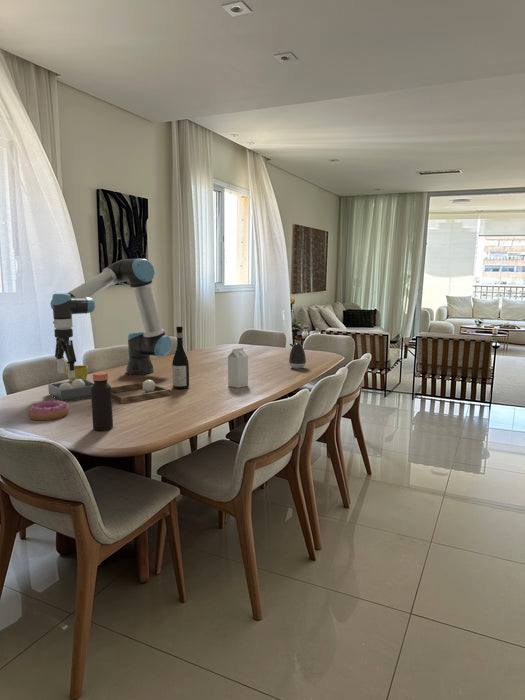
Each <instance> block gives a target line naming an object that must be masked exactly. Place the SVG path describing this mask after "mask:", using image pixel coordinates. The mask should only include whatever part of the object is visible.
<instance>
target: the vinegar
mask: <svg viewBox="0 0 525 700" xmlns="http://www.w3.org/2000/svg"><path fill="white" fill-rule="evenodd" d="M108 379H109V375H108V372H105V371H98V372H94V373H92V380H93V382H94V385H93V386H92V387H91V397H90V399H91V414H92V416H91V417H92V429H93V430H94V431H95V432H105V431H109V430H112V429H113V427H114V417H113V415H114V414H113V400H112V395H111V387H112V386H111V385H110V384H109V383H108V381H109V380H108Z"/></svg>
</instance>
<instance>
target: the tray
mask: <svg viewBox="0 0 525 700" xmlns="http://www.w3.org/2000/svg"><path fill="white" fill-rule="evenodd" d="M142 385H143V382H139V383H130V384H125V385H119V386H111V395H112V401H115V402H117V403H119V404H128V403H133V402H138V401H143V400H144V401H146V400H150V399H155V398H160V397H166V396H171V389H170V388H166V387H164V386H160V385H158V384H155V389H154V391H152V392H144V393H139V394H133V395H132V394H131V395H128V396H121V395H119V394H116V393H119V392H121V391H122V392H127V391H126V390H128V391H132V390H133V389H134V390H139V389H143V388H142ZM134 390H133V391H134ZM122 392H121V393H122Z"/></svg>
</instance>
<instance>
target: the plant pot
mask: <svg viewBox="0 0 525 700" xmlns="http://www.w3.org/2000/svg"><path fill="white" fill-rule="evenodd" d="M88 373H89V366H88V365H83V364H81V365H75V377H73V378H68V381H74V380H76V379H81V380H82V379H86V380H87V377H88ZM65 375H66V376H68V366H66V367H65Z"/></svg>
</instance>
